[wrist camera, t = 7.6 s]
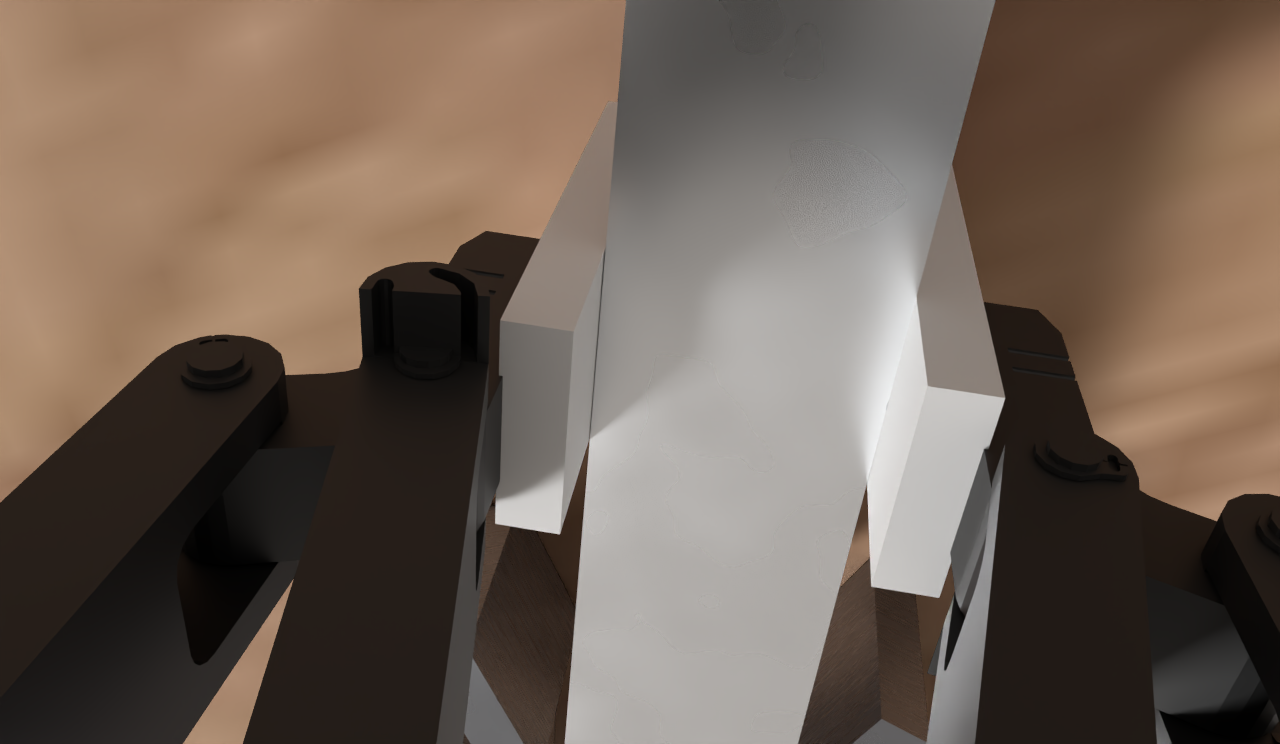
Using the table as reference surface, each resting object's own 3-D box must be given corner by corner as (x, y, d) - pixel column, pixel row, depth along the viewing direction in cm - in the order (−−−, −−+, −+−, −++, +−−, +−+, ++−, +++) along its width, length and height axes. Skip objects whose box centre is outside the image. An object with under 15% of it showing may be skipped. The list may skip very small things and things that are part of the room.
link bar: (722, -412, 14) (662, -432, 9) (1003, -381, 14) (1096, -385, 9) (620, 535, 23) (561, 782, 18) (789, 563, 23) (777, 822, 18)
